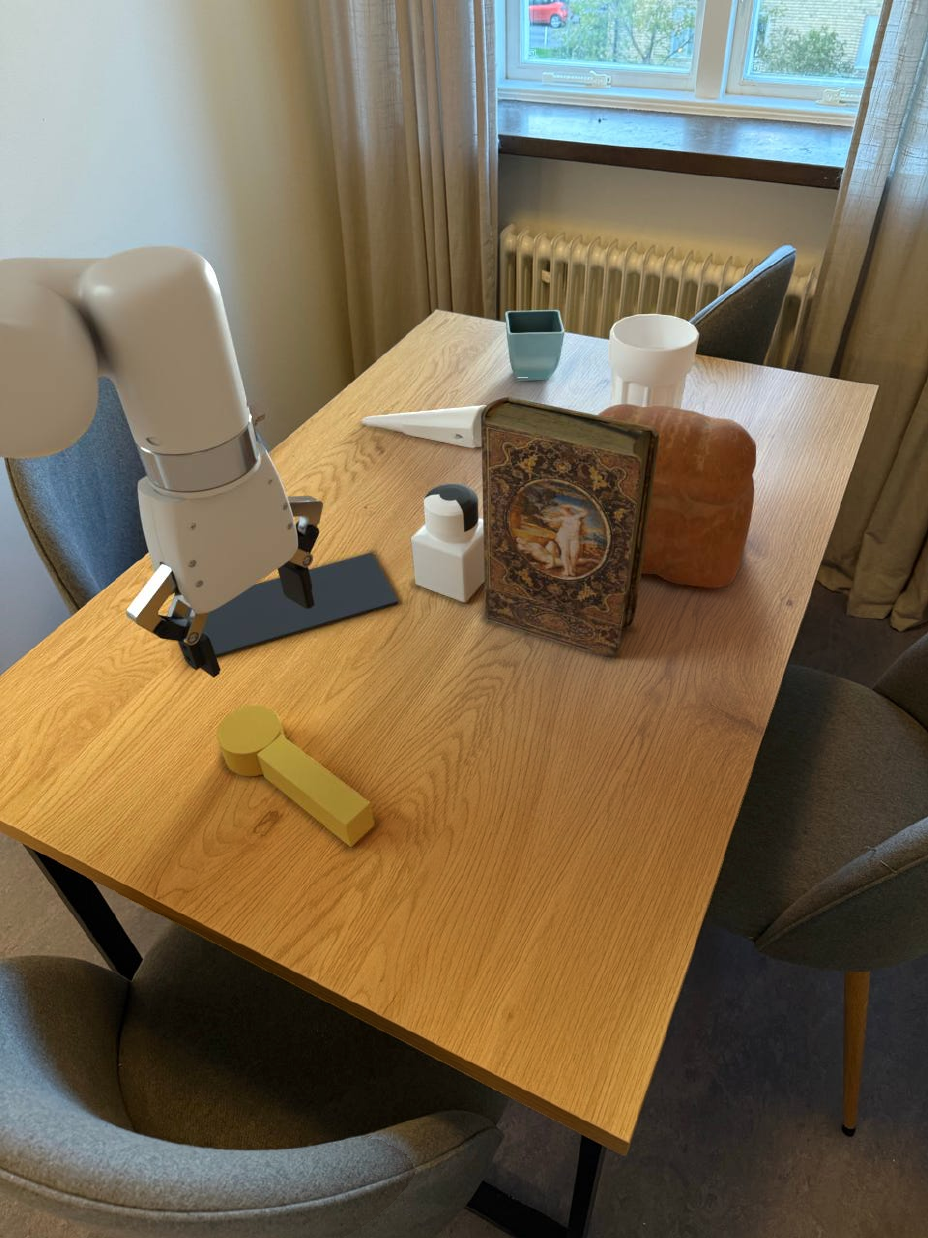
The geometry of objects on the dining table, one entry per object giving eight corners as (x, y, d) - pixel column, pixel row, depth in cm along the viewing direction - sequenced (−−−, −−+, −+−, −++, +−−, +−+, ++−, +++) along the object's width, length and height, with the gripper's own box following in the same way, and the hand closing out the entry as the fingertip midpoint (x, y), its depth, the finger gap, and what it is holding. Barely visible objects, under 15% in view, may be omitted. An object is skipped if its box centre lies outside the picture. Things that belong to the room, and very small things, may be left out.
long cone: (385, 416, 132) (494, 430, 124) (364, 439, 128) (475, 455, 120) (376, 384, 128) (488, 396, 120) (354, 407, 124) (468, 421, 116)
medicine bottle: (445, 552, 103) (440, 469, 95) (495, 569, 101) (494, 486, 92) (414, 585, 99) (405, 501, 91) (465, 604, 96) (461, 520, 88)
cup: (662, 478, 114) (680, 358, 102) (586, 457, 118) (595, 339, 106) (691, 440, 120) (711, 323, 109) (619, 421, 125) (631, 307, 113)
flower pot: (556, 361, 140) (559, 308, 134) (562, 386, 134) (565, 332, 128) (504, 363, 140) (504, 310, 134) (507, 388, 134) (507, 334, 128)
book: (478, 617, 94) (472, 420, 77) (498, 588, 98) (497, 394, 81) (617, 660, 89) (643, 458, 72) (633, 628, 92) (662, 428, 75)
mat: (190, 664, 91) (189, 662, 90) (177, 608, 97) (176, 605, 97) (398, 603, 97) (398, 600, 96) (372, 554, 104) (372, 552, 103)
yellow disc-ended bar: (386, 814, 76) (382, 791, 73) (338, 859, 73) (332, 837, 70) (260, 718, 85) (253, 695, 82) (212, 755, 81) (203, 732, 79)
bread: (730, 607, 94) (762, 482, 83) (548, 569, 100) (554, 447, 89) (750, 520, 106) (779, 400, 95) (586, 490, 112) (595, 374, 101)
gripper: (263, 382, 62) (303, 561, 74) (52, 489, 53) (136, 674, 64) (333, 412, 58) (363, 595, 70) (118, 533, 49) (195, 720, 61)
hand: (254, 633), depth 67 cm, fingers open, 9 cm apart
